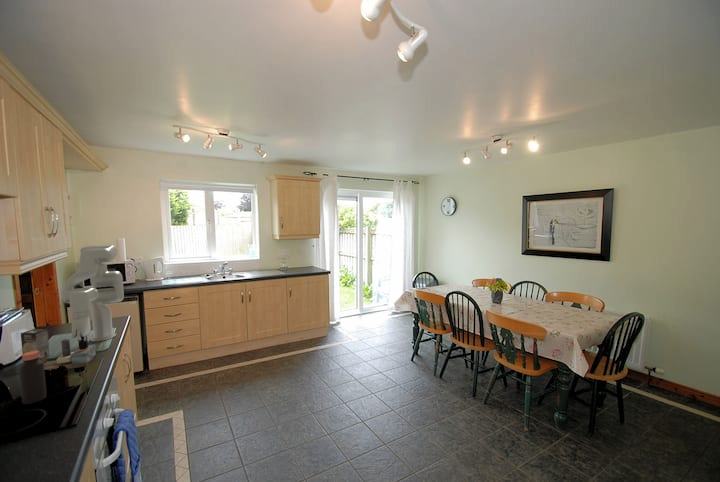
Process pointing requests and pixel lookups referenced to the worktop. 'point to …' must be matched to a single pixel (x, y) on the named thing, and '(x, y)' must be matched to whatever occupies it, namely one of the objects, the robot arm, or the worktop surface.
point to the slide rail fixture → (77, 359)
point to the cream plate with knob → (65, 352)
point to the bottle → (32, 378)
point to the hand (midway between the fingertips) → (83, 348)
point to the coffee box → (35, 341)
